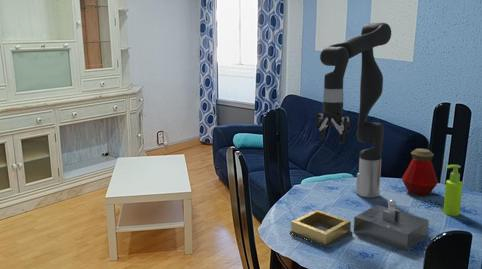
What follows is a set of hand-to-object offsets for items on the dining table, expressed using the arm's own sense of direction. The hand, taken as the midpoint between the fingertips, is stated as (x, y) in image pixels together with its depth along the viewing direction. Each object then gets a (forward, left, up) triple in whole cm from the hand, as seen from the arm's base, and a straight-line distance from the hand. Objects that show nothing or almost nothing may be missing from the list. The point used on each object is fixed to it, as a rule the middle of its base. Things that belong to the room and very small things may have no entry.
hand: (331, 141), depth 162 cm
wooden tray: (+8, -17, -30) cm, 35 cm away
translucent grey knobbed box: (+26, 0, -30) cm, 40 cm away
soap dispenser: (+34, +34, -30) cm, 57 cm away
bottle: (+15, +48, -30) cm, 59 cm away
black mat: (+8, -17, -30) cm, 35 cm away
